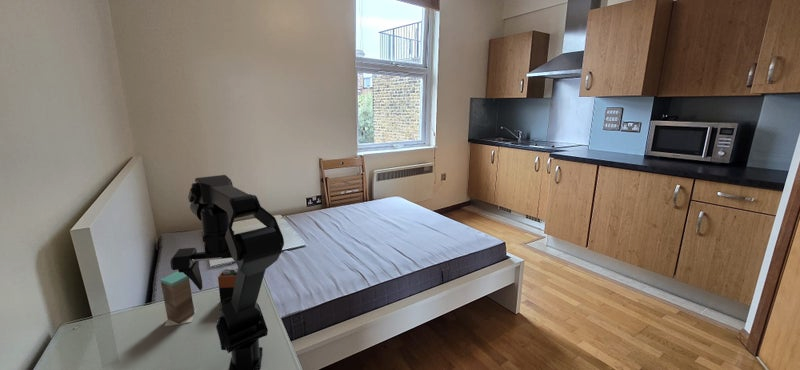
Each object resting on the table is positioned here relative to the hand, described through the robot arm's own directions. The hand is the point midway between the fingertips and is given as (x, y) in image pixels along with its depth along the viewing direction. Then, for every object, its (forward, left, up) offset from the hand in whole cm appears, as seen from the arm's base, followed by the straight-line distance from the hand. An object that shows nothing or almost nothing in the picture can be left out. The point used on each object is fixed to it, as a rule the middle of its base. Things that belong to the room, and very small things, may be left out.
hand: (222, 286), depth 81 cm
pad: (+9, +12, -13) cm, 20 cm away
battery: (+14, 0, -13) cm, 19 cm away
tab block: (+9, +12, -13) cm, 20 cm away
